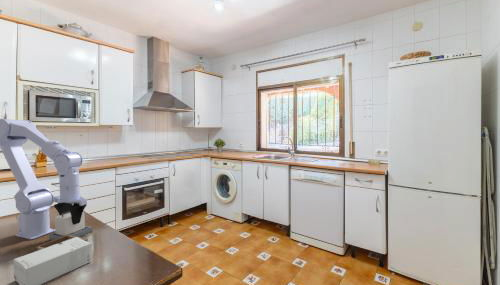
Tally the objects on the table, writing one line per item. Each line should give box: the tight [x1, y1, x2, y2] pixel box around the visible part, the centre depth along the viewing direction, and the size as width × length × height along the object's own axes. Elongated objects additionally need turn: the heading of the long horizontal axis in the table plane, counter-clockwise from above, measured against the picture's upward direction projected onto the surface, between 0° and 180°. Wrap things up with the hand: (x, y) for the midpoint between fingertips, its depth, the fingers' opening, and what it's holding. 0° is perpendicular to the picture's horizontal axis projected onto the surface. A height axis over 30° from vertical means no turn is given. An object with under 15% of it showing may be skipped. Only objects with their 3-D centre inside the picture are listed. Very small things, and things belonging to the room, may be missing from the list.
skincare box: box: [12, 237, 93, 285], centre depth 65 cm, size 8×6×15 cm
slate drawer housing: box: [48, 225, 93, 241], centre depth 87 cm, size 8×10×2 cm
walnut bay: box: [34, 235, 89, 252], centre depth 75 cm, size 10×9×3 cm
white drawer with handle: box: [54, 211, 86, 236], centre depth 86 cm, size 5×7×7 cm
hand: (71, 222), depth 86 cm, fingers closed on white drawer with handle, 5 cm apart
